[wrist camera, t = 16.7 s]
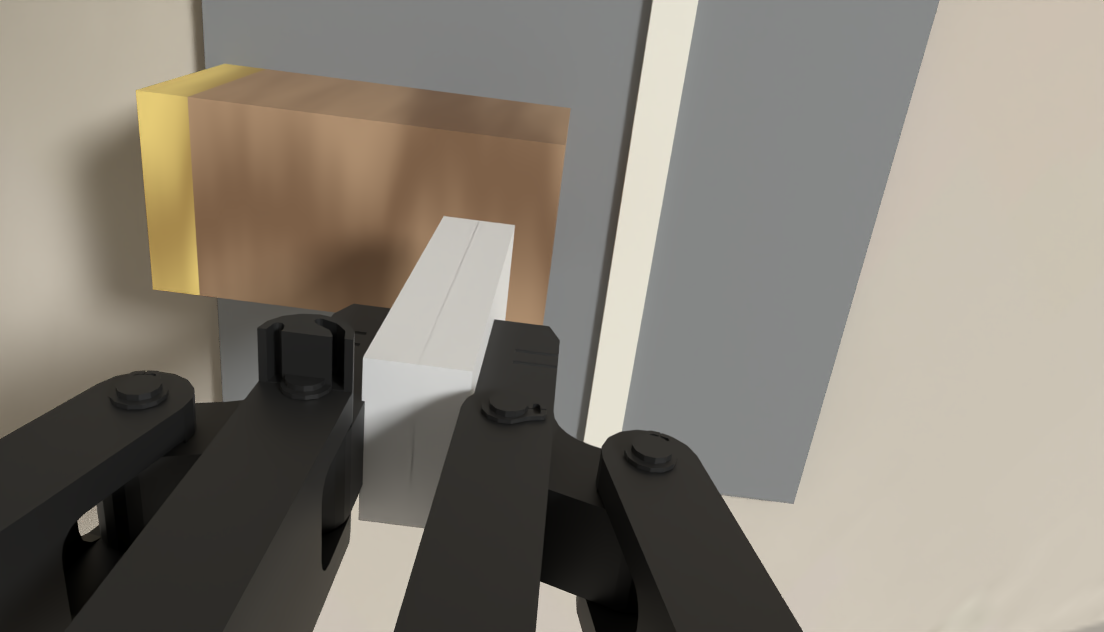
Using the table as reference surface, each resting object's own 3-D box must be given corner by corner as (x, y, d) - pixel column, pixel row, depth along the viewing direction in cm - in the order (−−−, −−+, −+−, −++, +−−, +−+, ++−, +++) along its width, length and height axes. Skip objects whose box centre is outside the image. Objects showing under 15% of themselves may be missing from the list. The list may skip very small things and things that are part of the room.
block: (570, 108, 24) (224, 63, 24) (564, 145, 19) (135, 90, 19) (550, 270, 26) (231, 229, 26) (541, 338, 21) (152, 289, 21)
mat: (199, -244, 21) (183, -251, 20) (971, -143, 21) (986, -147, 20) (231, 423, 29) (220, 436, 28) (789, 493, 29) (795, 509, 28)
